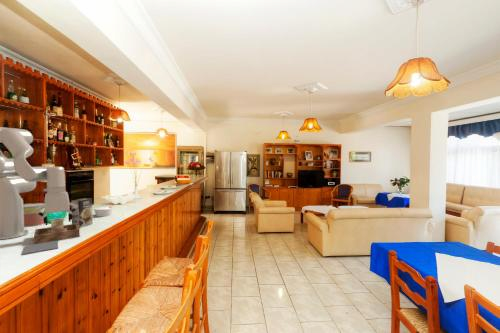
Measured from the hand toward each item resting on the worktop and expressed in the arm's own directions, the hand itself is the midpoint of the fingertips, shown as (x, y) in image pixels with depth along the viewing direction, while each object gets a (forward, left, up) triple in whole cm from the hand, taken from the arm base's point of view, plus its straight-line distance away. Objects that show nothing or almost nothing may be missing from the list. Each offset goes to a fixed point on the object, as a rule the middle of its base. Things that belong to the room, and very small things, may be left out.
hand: (58, 222), depth 130 cm
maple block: (0, 0, -4) cm, 4 cm away
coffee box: (+12, +17, -8) cm, 22 cm away
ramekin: (+26, +39, -8) cm, 48 cm away
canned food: (-11, +39, -8) cm, 42 cm away
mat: (-6, -15, -7) cm, 18 cm away
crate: (0, 0, -7) cm, 7 cm away
